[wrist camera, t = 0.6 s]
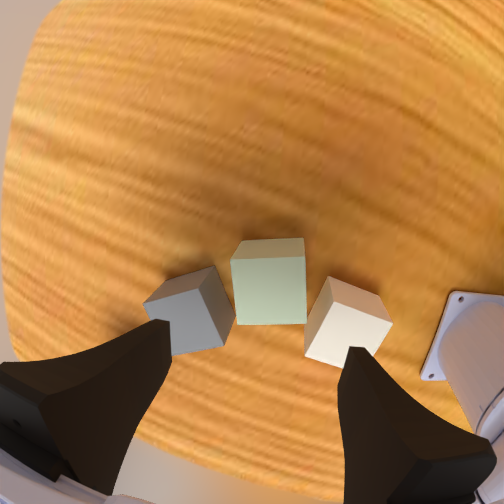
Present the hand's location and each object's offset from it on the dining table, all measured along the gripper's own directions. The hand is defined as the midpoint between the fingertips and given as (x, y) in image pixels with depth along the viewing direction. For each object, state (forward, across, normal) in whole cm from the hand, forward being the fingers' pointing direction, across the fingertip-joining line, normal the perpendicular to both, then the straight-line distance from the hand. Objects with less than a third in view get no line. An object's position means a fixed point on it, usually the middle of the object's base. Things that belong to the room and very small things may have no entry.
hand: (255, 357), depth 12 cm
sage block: (+10, 0, 0) cm, 10 cm away
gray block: (+10, +5, +3) cm, 12 cm away
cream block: (+10, -5, +2) cm, 11 cm away
